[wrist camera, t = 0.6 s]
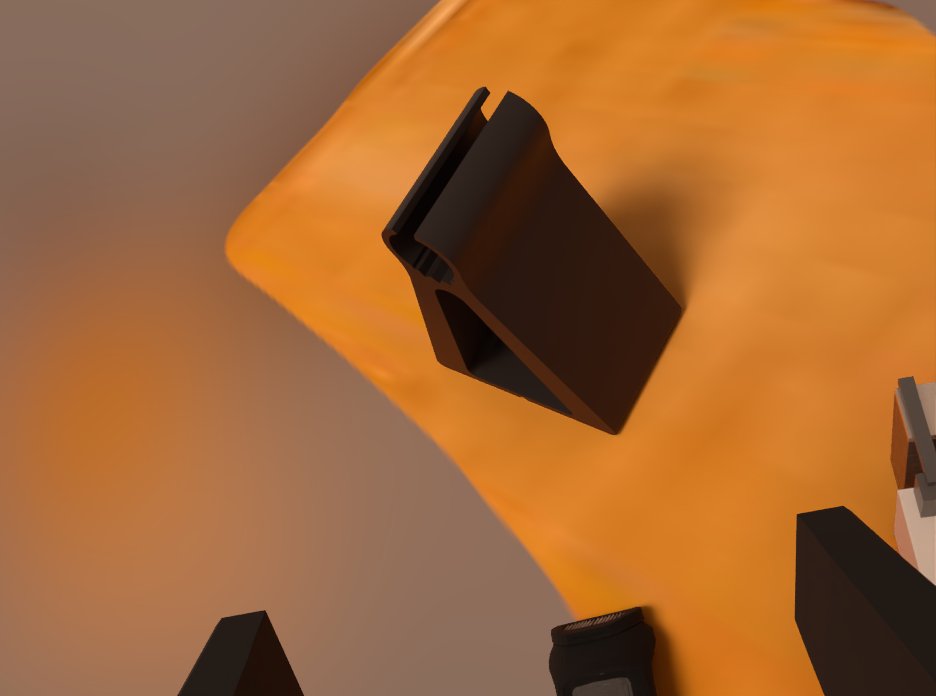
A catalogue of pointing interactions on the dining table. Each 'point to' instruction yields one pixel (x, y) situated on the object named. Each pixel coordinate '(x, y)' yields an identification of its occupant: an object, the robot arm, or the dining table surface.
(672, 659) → the dining table surface
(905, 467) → the tester frame
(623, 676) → the electric trimmer
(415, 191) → the phone stand
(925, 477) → the pad
